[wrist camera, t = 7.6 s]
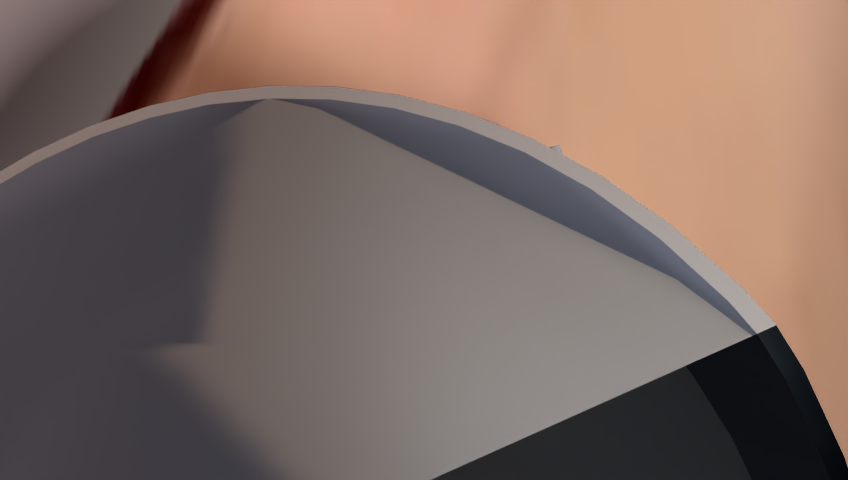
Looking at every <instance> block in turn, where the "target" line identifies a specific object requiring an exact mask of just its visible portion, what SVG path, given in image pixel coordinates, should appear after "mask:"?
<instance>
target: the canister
mask: <svg viewBox="0 0 848 480" xmlns="http://www.w3.org/2000/svg"><path fill="white" fill-rule="evenodd" d="M0 480H848V467H847V464H846V461H845V458H844V456H843V453H842V451H841V449H840V447H839V445H838V443H837V440H836V438H835V436H834V434H833V432H832V430H831V427H830V425H829V423H828V421H827V419H826V417H825V414H824V412H823V410H822V408H821V406H820V404H819V401H818V399H817V397H816V395H815V393H814V391H813V388H812V386H811V384H810V382H809V380H808V378H807V375H806V373H805V371H804V369H803V368H802V366H801V364H800V363H799V361H798V360H797V358H796V356H795V355H794V353H793V352H792V350H791V348H790V347H789V345H788V344H787V342H786V340H785V339H784V337H783V336H782V334H781V332H780V331H779V329H778V328H777V326H776V325H775V323H774V322H773V321H772V320H771V319H770V318H769V317H768V316H767V315H766V313H765V312H764V311H763V310H762V309H761V308H760V307H759V306H758V305H757V303H756V302H755V301H754V300H753V299H752V298H751V297H750V296H749V295H748V293H747V292H746V291H745V290H744V289H743V288H742V287H740V286H739V285H738V284H737V283H736V282H735V281H734V280H733V279H731V278H730V277H729V276H728V275H727V274H726V273H725V272H724V271H723V270H721V269H720V268H719V267H718V266H717V265H716V264H715V263H714V262H712V261H711V260H710V259H709V258H708V257H707V256H706V255H705V254H703V253H702V252H701V251H700V250H699V249H698V248H697V247H696V246H694V245H693V244H692V243H691V242H690V241H689V240H688V239H687V238H685V237H684V236H683V235H682V234H681V233H680V232H679V231H678V230H677V229H675V228H674V227H673V226H672V225H670V224H669V223H668V222H666V221H665V220H663V219H662V218H661V217H659V216H658V215H656V214H655V213H653V212H652V211H651V210H649V209H648V208H646V207H645V206H644V205H642V204H641V203H639V202H638V201H636V200H635V199H634V198H632V197H631V196H629V195H628V194H626V193H625V192H624V191H622V190H621V189H619V188H618V187H617V186H615V185H614V184H612V183H611V182H609V181H608V180H607V179H605V178H604V177H602V176H601V175H599V174H597V173H595V172H593V171H591V170H590V169H588V168H586V167H584V166H582V165H580V164H579V163H577V162H575V161H573V160H571V159H569V158H567V157H566V156H564V155H562V154H560V153H558V152H556V151H554V150H553V149H551V148H549V147H547V146H545V145H543V144H542V143H540V142H538V141H536V140H534V139H532V138H530V137H527V136H525V135H522V134H520V133H517V132H514V131H512V130H509V129H507V128H504V127H502V126H499V125H497V124H494V123H492V122H489V121H487V120H484V119H481V118H479V117H476V116H474V115H471V114H469V113H466V112H463V111H459V110H455V109H452V108H448V107H444V106H440V105H436V104H432V103H428V102H425V101H421V100H417V99H413V98H409V97H405V96H401V95H396V94H389V93H381V92H374V91H366V90H358V89H351V88H343V87H336V86H263V87H254V88H245V89H235V90H226V91H216V92H209V93H204V94H200V95H195V96H191V97H186V98H182V99H177V100H173V101H168V102H164V103H159V104H155V105H150V106H147V107H144V108H141V109H139V110H136V111H133V112H130V113H127V114H124V115H121V116H118V117H115V118H112V119H109V120H106V121H103V122H100V123H98V124H94V125H92V126H89V127H87V128H85V129H83V130H80V131H79V132H76V133H74V134H72V135H70V136H68V137H65V138H63V139H61V140H59V141H57V142H54V143H52V144H50V145H48V146H46V147H44V148H41V149H39V150H37V151H35V152H33V153H31V154H29V155H28V156H26V157H24V158H22V159H21V160H19V161H17V162H16V163H14V164H12V165H10V166H9V167H7V168H5V169H4V170H2V171H0Z"/></svg>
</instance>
